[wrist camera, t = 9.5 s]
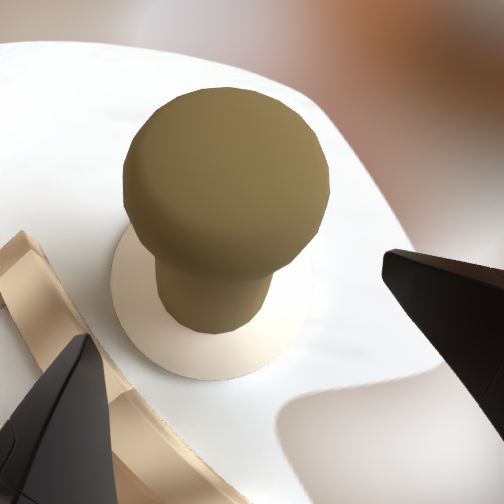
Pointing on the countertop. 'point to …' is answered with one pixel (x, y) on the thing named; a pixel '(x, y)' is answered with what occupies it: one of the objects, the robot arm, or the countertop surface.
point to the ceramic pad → (201, 344)
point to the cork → (223, 201)
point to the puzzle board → (117, 386)
